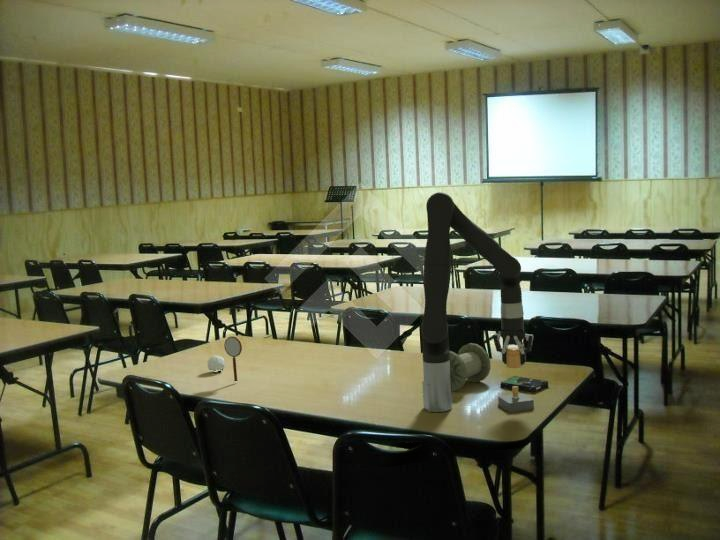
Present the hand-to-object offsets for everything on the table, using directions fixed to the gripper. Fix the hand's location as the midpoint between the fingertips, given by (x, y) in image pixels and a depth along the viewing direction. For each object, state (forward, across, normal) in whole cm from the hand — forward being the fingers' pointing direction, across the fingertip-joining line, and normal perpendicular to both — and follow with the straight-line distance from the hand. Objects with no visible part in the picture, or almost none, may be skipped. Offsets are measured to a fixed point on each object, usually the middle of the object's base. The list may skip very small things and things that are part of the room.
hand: (514, 363), depth 255 cm
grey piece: (+15, 0, 0) cm, 15 cm away
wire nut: (+1, 0, 0) cm, 1 cm away
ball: (+14, -139, +22) cm, 142 cm away
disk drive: (+16, -2, +24) cm, 29 cm away
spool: (+15, -26, +22) cm, 37 cm away
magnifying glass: (+15, -119, +7) cm, 120 cm away
